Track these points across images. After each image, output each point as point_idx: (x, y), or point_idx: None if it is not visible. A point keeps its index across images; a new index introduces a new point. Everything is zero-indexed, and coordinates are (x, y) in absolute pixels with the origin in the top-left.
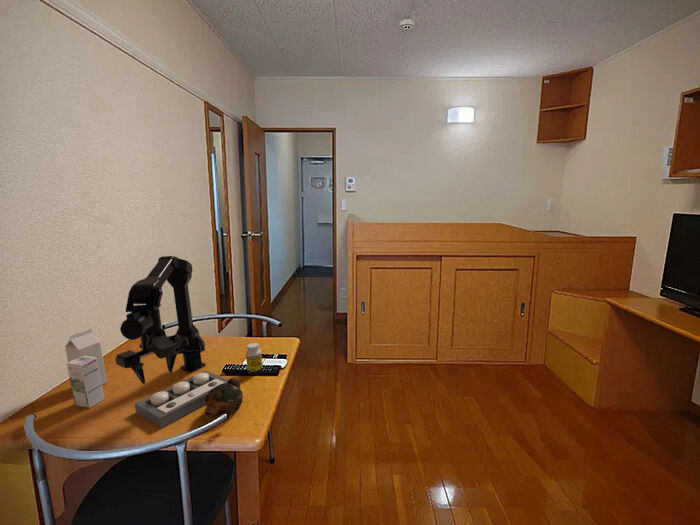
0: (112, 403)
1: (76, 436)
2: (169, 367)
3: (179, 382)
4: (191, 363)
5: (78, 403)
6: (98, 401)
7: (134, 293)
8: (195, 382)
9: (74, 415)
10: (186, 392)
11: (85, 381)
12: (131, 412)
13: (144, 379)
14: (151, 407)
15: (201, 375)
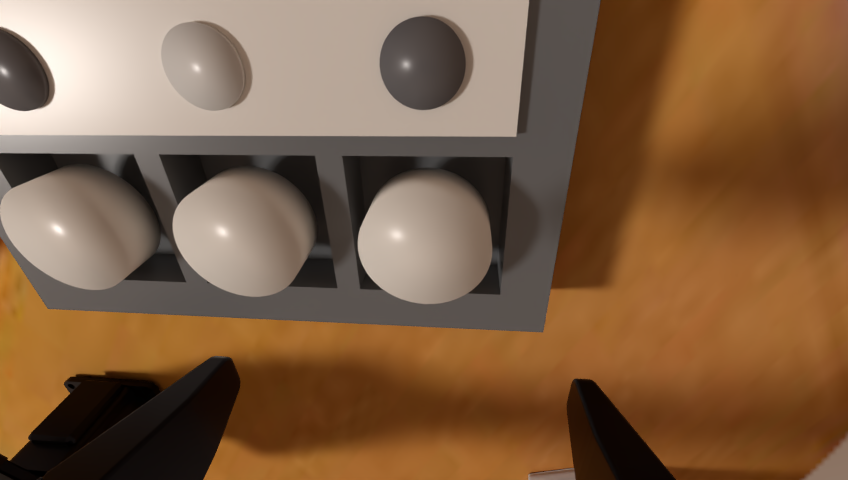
0: (533, 430)
1: (827, 337)
2: (196, 424)
3: (230, 290)
4: (114, 423)
5: None
6: (561, 476)
7: None
8: (135, 219)
9: (672, 467)
10: (239, 168)
11: None
12: None
13: (600, 426)
14: (523, 192)
15: (58, 244)
